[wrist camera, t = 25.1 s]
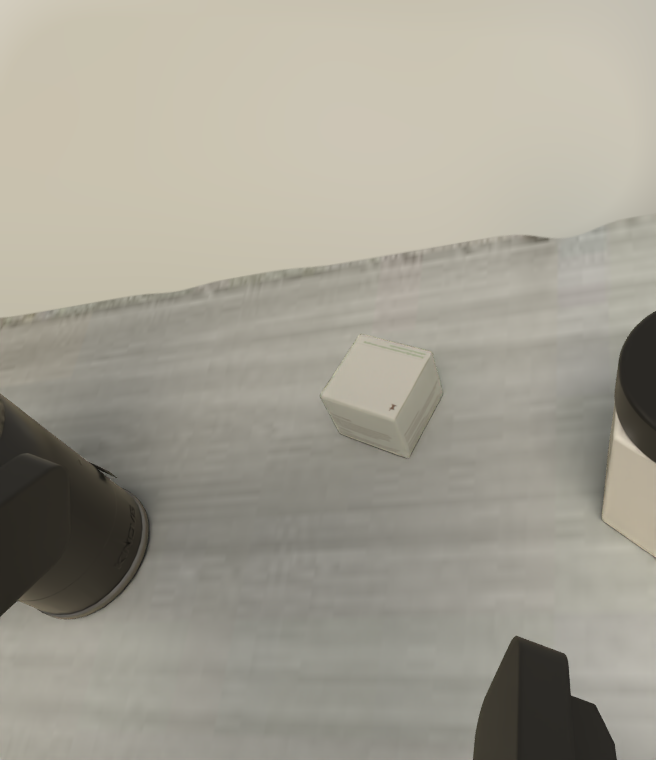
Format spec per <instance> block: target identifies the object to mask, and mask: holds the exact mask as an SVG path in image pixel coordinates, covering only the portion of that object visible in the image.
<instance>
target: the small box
mask: <svg viewBox="0 0 656 760" xmlns="http://www.w3.org/2000/svg"><path fill="white" fill-rule="evenodd" d="M442 395H443V390H442V387H441V383H440V379H439V375H438V372H437V368H436V364H435V360H434V356H433V353H432V352H431V351H427V350H423V349H419V348H415V347H412V346H408V345H403V344H400V343H396V342H392V341H388V340H384V339H380V338H376V337H372V336H368V335H364V334H360V335H359V336H358V338H357V339H356V341H355V342H354V343H353V345H352V347H351V348H350V350H349V351H348V353H347V354H346V356H345V358H344V359H343V361H342V362H341V364H340V366H339V367H338V369H337V370H336V372H335V373H334V375H333V376H332V378H331V379H330V381H329V382H328V384H327V385H326V387H325V388H324V390H323V391H322V392H321V394H320V398H321V399H322V401H323V403H324V405H325V407H326V409H327V411H328V412H329V414H330V416H331V418H332V420H333V422H334V424H335V426H336V427H337V429H338V431H339V433H340V434H342V435H345V436H347V437H350V438H352V439H355V440H358V441H360V442H363V443H366V444H369V445H371V446H374V447H377V448H380V449H382V450H385V451H388V452H391V453H393V454H396V455H399V456H402V457H405V458H409V457H410V455H411V453H412V451H413V449H414V447H415V446H416V444H417V442H418V440H419V438H420V436H421V435H422V433H423V431H424V429H425V427H426V425H427V423H428V421H429V419H430V418H431V416H432V414H433V412H434V410H435V408H436V407H437V405H438V403H439V401H440V399H441V397H442Z"/></svg>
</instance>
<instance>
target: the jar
mask: <svg viewBox="0 0 656 760" xmlns="http://www.w3.org/2000/svg"><path fill="white" fill-rule="evenodd" d="M614 397H615V403H614V410H613V418H612V425H611V432H610V440H609V447H608V456H607V466H606V476H605V486H604V497H603V507H602V520H603V521H604V522H605V523H607V524H608V525H610V526H611V527H612V528H614V529H615V530H617V531H618V532H620V533H621V534H622V535H624V536H625V537H627V538H628V539H630V540H631V541H632V542H634V543H635V544H637V545H638V546H640V547H641V548H642V549H644V550H645V551H647V552H648V553H649V554H651V555H652V556H654V557H655V558H656V311H655V312H653V313H652V314H650V315H649V316H647V317H646V318H645V319H643V320H642V321H641V322H640V323H639V324H638V325H637V326H636V327H635V328H634V329H633V330H632V331H631V333H630V334H629V336H628V337H627V339H626V341H625V343H624V345H623V347H622V350H621V353H620V357H619V363H618V370H617V378H616V385H615V395H614Z"/></svg>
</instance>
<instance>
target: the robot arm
mask: <svg viewBox="0 0 656 760" xmlns="http://www.w3.org/2000/svg"><path fill="white" fill-rule="evenodd" d="M98 469H99V470H101V471H103V472H105V473H107V474H109V475H111V476H113V477H115V476H114V475H113V474H112V473H110V472H109V471H107V470H105V469H103V468H101V467H98V466H96V465H94V464H92V463H90V462H88V461H86V460H85V459H84V458H83V457H81V456H80V455H79V454H77V453H76V452H75V451H74V450H72V449H71V448H70V447H68V446H67V445H66V444H65V443H63V442H62V441H61V440H59V439H58V438H57V437H56V436H54V435H53V434H52V433H50V432H49V431H48V430H46V429H45V428H44V427H43V426H41V425H40V424H39V423H37V422H36V421H35V420H34V419H32V418H31V417H30V416H28V415H27V414H26V413H25V412H23V411H22V410H21V409H19V408H18V407H17V406H16V405H14V404H13V403H12V402H10V401H9V400H8V399H7V398H5V397H4V396H3V395H1V394H0V616H1V615H2V614H3V613H5V612H6V611H7V610H8V609H9V608H10V607H11V606H12V605H13V604H14V603H15V602H16V601H17V600H18V601H20V602H23V603H25V604H27V605H30V606H32V607H35V608H37V609H38V610H39V611H41V612H42V613H45V614H47V615H49V616H52V617H55V618H58V619H76V618H80V617H84V616H87V615H89V614H92V613H94V612H96V611H98V610H99V609H101V608H103V607H104V606H106V605H107V604H108V603H110V602H111V601H112V600H113V599H114V598H115V597H117V596H118V595H119V594H120V593H121V592H122V590H123V589H124V588H125V587H126V586H127V585H128V583H129V582H130V581H131V579H132V578H133V576H134V575H135V573H136V571H137V569H138V568H139V566H140V564H141V561H142V559H143V556H144V554H145V551H146V547H147V542H148V534H149V525H148V518H147V514H146V511H145V509H144V507H143V505H142V504H141V502H140V501H139V500H138V499H137V498H136V497H135V496H133V495H132V494H131V493H130V492H128V491H127V490H125V489H123V488H121V487H119V486H118V485H117V484H115V483H114V482H113V481H112V480H110V479H109V478H108V477H107V476H105V475H104V474H103V473H102V472H101V471H99V470H98ZM116 478H117V477H116ZM473 760H617V758H616V751H615V744H614V742H613V740H612V738H611V736H610V734H609V732H608V730H607V727H606V725H605V723H604V721H603V719H602V717H601V715H600V713H599V711H598V709H597V707H596V705H594V704H592V703H589V702H587V701H584V700H581V699H579V698H576V697H574V696H571V693H570V679H569V665H568V659H567V657H566V655H565V654H564V653H561V652H559V651H556V650H553V649H551V648H548V647H545V646H542V645H540V644H537V643H534V642H532V641H529V640H526V639H524V638H521V637H518V636H515V637H514V638H513V639H512V641H511V643H510V644H509V647H508V649H507V651H506V653H505V655H504V657H503V659H502V662H501V664H500V666H499V668H498V670H497V672H496V675H495V677H494V679H493V681H492V683H491V685H490V687H489V690H488V692H487V694H486V696H485V698H484V701H483V704H482V707H481V711H480V714H479V718H478V723H477V728H476V734H475V743H474V754H473Z"/></svg>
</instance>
